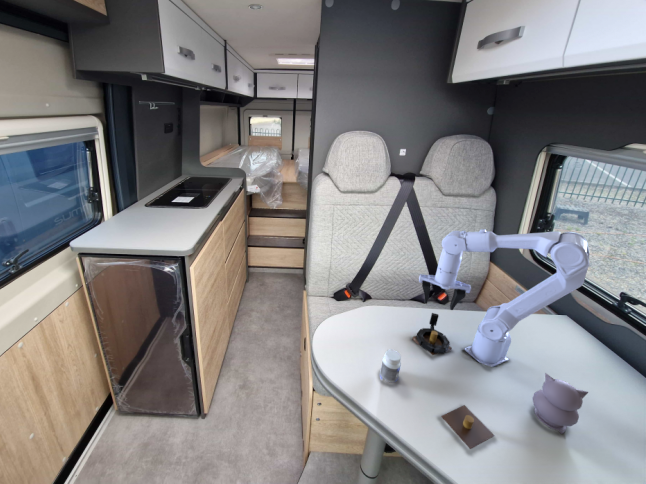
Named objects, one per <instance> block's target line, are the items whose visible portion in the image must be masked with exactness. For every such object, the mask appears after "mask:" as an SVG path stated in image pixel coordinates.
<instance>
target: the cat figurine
mask: <svg viewBox="0 0 646 484" xmlns="http://www.w3.org/2000/svg"><path fill="white" fill-rule="evenodd" d="M544 377H545V378H544V382H543V384H542V386H541V389H539V390H537V391H535V392H534V393H533V395H532V403H533V406H534V409H533V411H534V414H535V416H536V417H537V418H538V420H539V421H540V422H541V423H542V424H543V425H546V426H547V427H549V428H550V429H553V430H555V431H559V434H560V435H563V434H564V433H566V430H567V428H568V427H572V426H574V425H576V424H577V423H578V422H579V418H580V415H579V411H578V410H580V409H581V408H582V406H583V403H584V400H583V399H584V398H585V397H586V396H587V395H588V394H589V391H587V390H583V389H579V388H576V387H575V386H573V385H572V384H571V383H570V382H568V381H564V380H562V379H558V378H554V377H552V376H551V375H549V374H548V373H547V372H545V373H544Z"/></svg>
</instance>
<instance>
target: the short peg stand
mask: <svg viewBox="0 0 646 484" xmlns="http://www.w3.org/2000/svg"><path fill="white" fill-rule="evenodd" d="M440 417H441V418H442V419H443V420H444V422H445V423H446V424H447V425H448V426H449V427H450V428H451V430H452V431H453V432H454V433H455V434H456V435H457V436H458V437H459V438H460V440H462V442H463V443H464V444H465V445H466V446H467V448H468V449H469V450H472V449H474V448H475V447H477V446H479V445H481V444H483V443H484V442H486V441H488V440H490V439H491V438H493V437H495V436H496V435H495V434H494V433H493V432H492V431H491V430H490V429H489V428H488V427H487V426H486V425H485V424H484V423H483V422H482V420H480V419H479V418H478V417H477V416H476V415H475V414H474V413H473V412H472V411H471V410H470V409H469V408H468V407H467V406H466V405H465V404H464V405H461V406H459V407H457V408H455V409H453V410H451V411H449V412H447V413H445V414H442V415H441V416H440Z"/></svg>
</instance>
